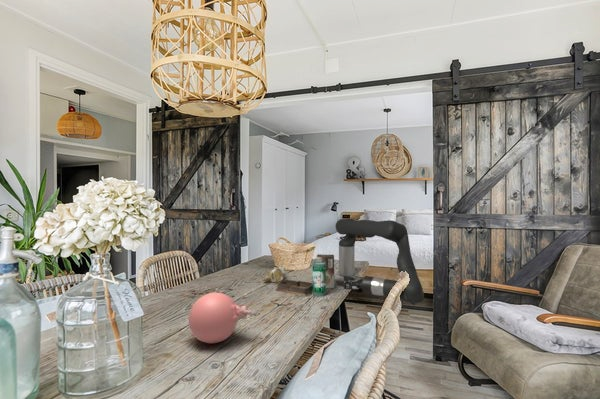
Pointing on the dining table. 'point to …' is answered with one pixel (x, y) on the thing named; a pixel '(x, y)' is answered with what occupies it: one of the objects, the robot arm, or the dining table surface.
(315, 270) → the can
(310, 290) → the brown open tray
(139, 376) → the dining table surface
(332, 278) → the coffee box
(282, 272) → the ceramic sculpture
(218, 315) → the balloon
